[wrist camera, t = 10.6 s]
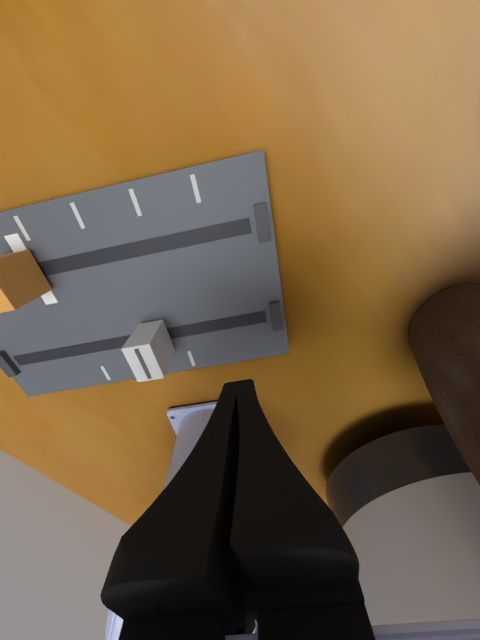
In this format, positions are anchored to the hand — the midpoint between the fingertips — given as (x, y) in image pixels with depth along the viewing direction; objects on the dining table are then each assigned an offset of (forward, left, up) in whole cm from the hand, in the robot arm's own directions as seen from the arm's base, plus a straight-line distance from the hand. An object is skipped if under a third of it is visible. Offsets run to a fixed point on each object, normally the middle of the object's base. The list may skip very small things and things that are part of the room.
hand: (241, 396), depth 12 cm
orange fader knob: (+6, +14, -9) cm, 18 cm away
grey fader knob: (-1, +7, -9) cm, 11 cm away
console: (+3, +9, -10) cm, 14 cm away
